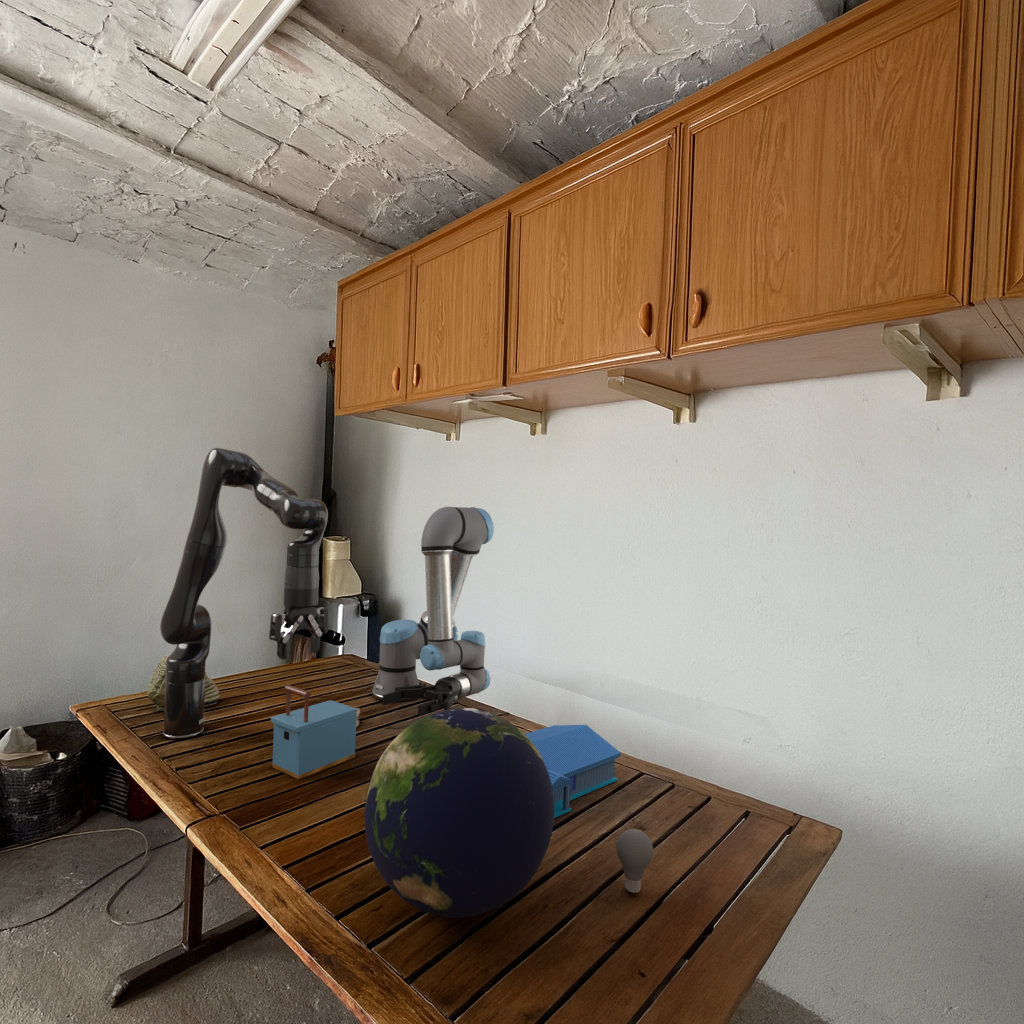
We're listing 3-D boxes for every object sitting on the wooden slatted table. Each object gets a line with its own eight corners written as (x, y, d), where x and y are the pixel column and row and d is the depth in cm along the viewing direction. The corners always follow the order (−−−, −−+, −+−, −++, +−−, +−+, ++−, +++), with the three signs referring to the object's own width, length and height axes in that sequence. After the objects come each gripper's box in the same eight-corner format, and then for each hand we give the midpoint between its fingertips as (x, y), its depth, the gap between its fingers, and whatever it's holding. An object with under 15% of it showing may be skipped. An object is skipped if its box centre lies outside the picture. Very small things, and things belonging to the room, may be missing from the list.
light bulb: (610, 879, 108) (613, 822, 108) (644, 879, 109) (647, 822, 109) (619, 902, 102) (622, 840, 102) (655, 901, 103) (658, 840, 103)
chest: (298, 779, 141) (300, 731, 141) (272, 767, 147) (273, 721, 147) (355, 757, 155) (356, 713, 154) (329, 746, 160) (330, 704, 160)
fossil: (144, 707, 182) (145, 655, 182) (212, 696, 194) (213, 647, 194) (151, 716, 175) (153, 662, 175) (221, 703, 188) (223, 653, 188)
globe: (319, 928, 93) (327, 726, 93) (422, 833, 121) (429, 676, 120) (506, 997, 82) (516, 767, 81) (573, 874, 109) (581, 702, 109)
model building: (501, 841, 119) (503, 788, 119) (426, 793, 137) (428, 747, 137) (629, 785, 145) (631, 742, 145) (552, 750, 163) (554, 712, 163)
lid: (297, 732, 140) (298, 696, 140) (270, 722, 146) (271, 687, 146) (356, 713, 154) (358, 680, 154) (330, 704, 160) (331, 672, 160)
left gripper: (284, 590, 138) (281, 664, 138) (337, 584, 149) (334, 653, 149) (264, 586, 142) (261, 658, 142) (316, 581, 153) (314, 647, 154)
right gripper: (483, 709, 184) (434, 729, 166) (420, 692, 198) (369, 709, 181) (484, 684, 184) (435, 701, 166) (421, 668, 198) (370, 682, 181)
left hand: (298, 655), depth 146 cm, fingers open, 8 cm apart
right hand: (400, 705), depth 174 cm, fingers open, 13 cm apart
